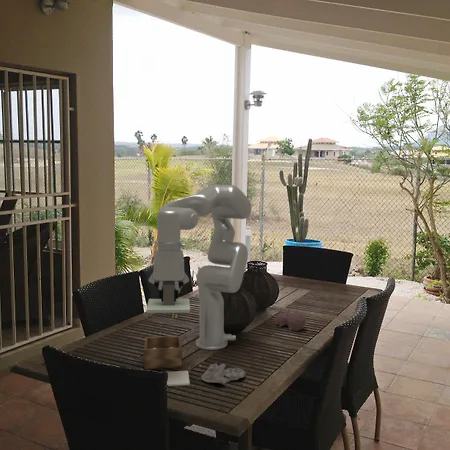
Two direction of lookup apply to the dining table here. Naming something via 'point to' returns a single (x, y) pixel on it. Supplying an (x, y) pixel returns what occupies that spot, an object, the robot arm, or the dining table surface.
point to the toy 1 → (178, 298)
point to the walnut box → (163, 352)
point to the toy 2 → (291, 320)
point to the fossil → (222, 374)
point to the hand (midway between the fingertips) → (168, 300)
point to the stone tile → (178, 378)
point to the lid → (168, 302)
